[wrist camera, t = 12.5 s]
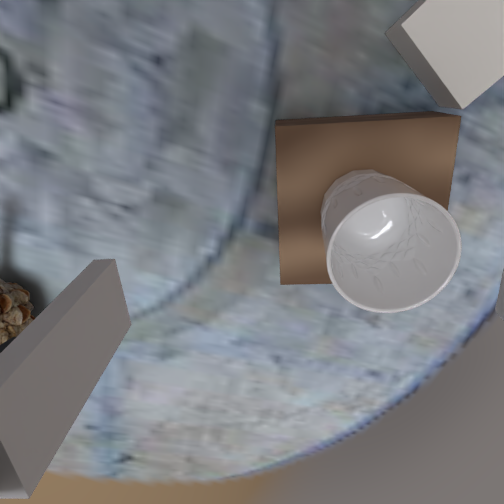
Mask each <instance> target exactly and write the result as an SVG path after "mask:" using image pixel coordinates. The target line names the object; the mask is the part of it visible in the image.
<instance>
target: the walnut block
mask: <svg viewBox="0 0 504 504" xmlns="http://www.w3.org/2000/svg"><path fill="white" fill-rule="evenodd" d="M460 121H461V116H458V115H452V114H446V113H440V112H434V111H427V112H409V113H392V114H375V115H357V116H340V117H323V118H305V119H288V120H276V123H275V139H276V168H277V197H278V225H279V254H280V283H281V285H289V284H332V282H331V279H330V277H329V274H328V270H327V263H326V256H325V250H324V244H323V238H322V227H321V219H322V218H321V213H320V211H321V207H322V202H323V198H324V194H325V193H326V192H327V190H328V189H329V188H330V186H331V185H332V184H333V183H334V181H335V180H336V179H338V178H340V177H342V176H344V175H345V174H347V173H349V172H351V171H353V170H367V169H373V170H376V171H378V172H381V173H383V174H385V175H388V176H391V177H393V178H395V179H397V180H399V181H401V182H403V183H405V184H407V185H409V186H410V187H412V188H414V189H415V190H417V191H418V192H420V193H422V194H423V195H425V196H427V197H428V198H430V199H432V200H433V201H435V202H437V203H438V204H440V205H441V206H442V207H444V208H445V209H446V210H447V211H448V204H449V197H450V191H451V184H452V177H453V170H454V163H455V156H456V149H457V142H458V135H459V128H460Z"/></svg>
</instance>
